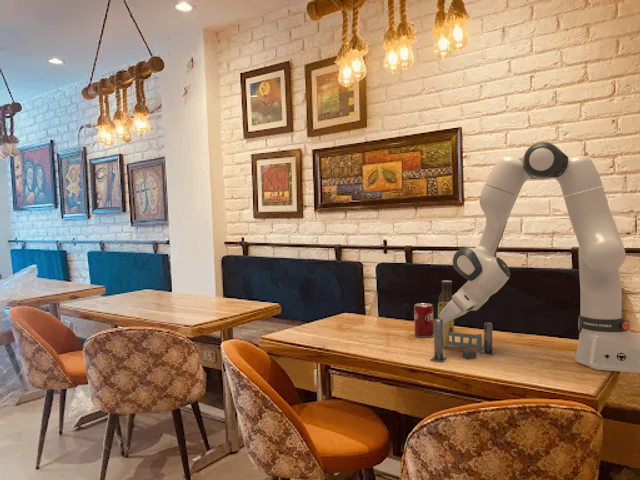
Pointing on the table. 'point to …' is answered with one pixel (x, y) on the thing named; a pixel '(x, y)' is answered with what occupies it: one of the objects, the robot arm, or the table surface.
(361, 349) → the table surface
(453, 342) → the gate
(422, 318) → the soda can
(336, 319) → the table surface
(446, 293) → the sauce bottle
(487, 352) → the hinge post
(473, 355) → the block
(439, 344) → the post
